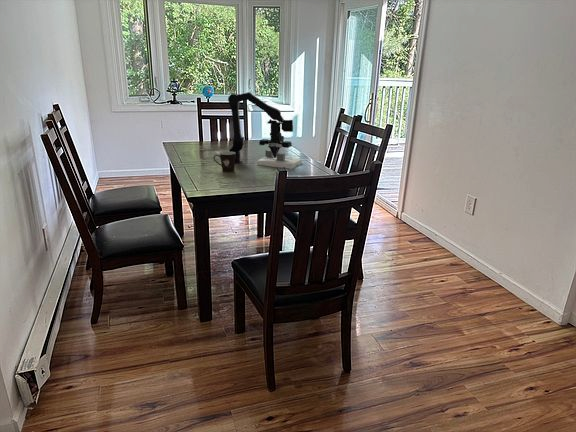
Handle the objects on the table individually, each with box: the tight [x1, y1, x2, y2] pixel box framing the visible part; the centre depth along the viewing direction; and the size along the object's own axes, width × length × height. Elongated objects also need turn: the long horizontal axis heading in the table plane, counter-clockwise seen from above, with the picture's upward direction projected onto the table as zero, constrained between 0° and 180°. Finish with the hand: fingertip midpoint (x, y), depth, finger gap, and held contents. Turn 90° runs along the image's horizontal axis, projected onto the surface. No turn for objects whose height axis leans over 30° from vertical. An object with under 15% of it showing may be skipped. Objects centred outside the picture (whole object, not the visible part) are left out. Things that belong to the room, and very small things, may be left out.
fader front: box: [277, 152, 286, 161], centre depth 254 cm, size 3×4×4 cm
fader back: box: [265, 149, 273, 157], centre depth 263 cm, size 3×4×4 cm
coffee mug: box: [213, 151, 236, 173], centre depth 237 cm, size 12×9×10 cm
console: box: [256, 155, 303, 170], centre depth 257 cm, size 16×22×3 cm
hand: (275, 157), depth 256 cm, fingers closed
